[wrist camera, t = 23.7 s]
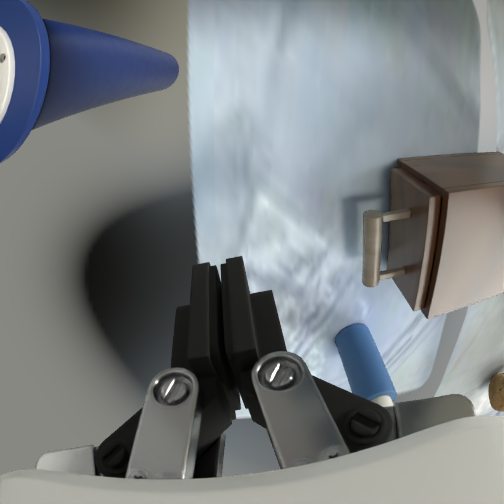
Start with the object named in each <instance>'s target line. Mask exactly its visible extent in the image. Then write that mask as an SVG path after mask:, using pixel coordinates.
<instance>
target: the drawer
mask: <svg viewBox="0 0 504 504" xmlns="http://www.w3.org/2000/svg"><path fill="white" fill-rule="evenodd" d="M441 209H442V198H441V195H440V194H438V193H437V192H436V191H434V190H433V189H431V188H430V187H429V186H427V185H426V184H424V183H423V182H422V181H420V180H419V179H417V178H416V177H414V176H413V175H411V174H410V173H408V172H407V171H405V170H404V169H402V168H396V169H391V205H390V211H389V212H383V213H381V212H380V211H378V210H367V211H365V212H364V214H363V273H362V283H363V284H364V285H365V286H367V287H375V286H377V285H378V283H379V280H384V279H388V278H392V279H393V280H394V282H395V284H396V285H397V287H398V288H399V290H400V291H401V293H402V294H403V296H404V297H405V299H406V300H407V302H408V303H409V305H410V307H411V308H412V310H413V311H417V310H420V309H423V308H424V305H425V300H426V296H427V291H428V289H429V288H430V283H431V277H432V272H433V267H434V261H435V255H436V248H437V241H438V234H439V227H440V218H441ZM387 221H390V232H389V249H388V262H387V270H384V271H380V261H381V244H382V222H387Z"/></svg>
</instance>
